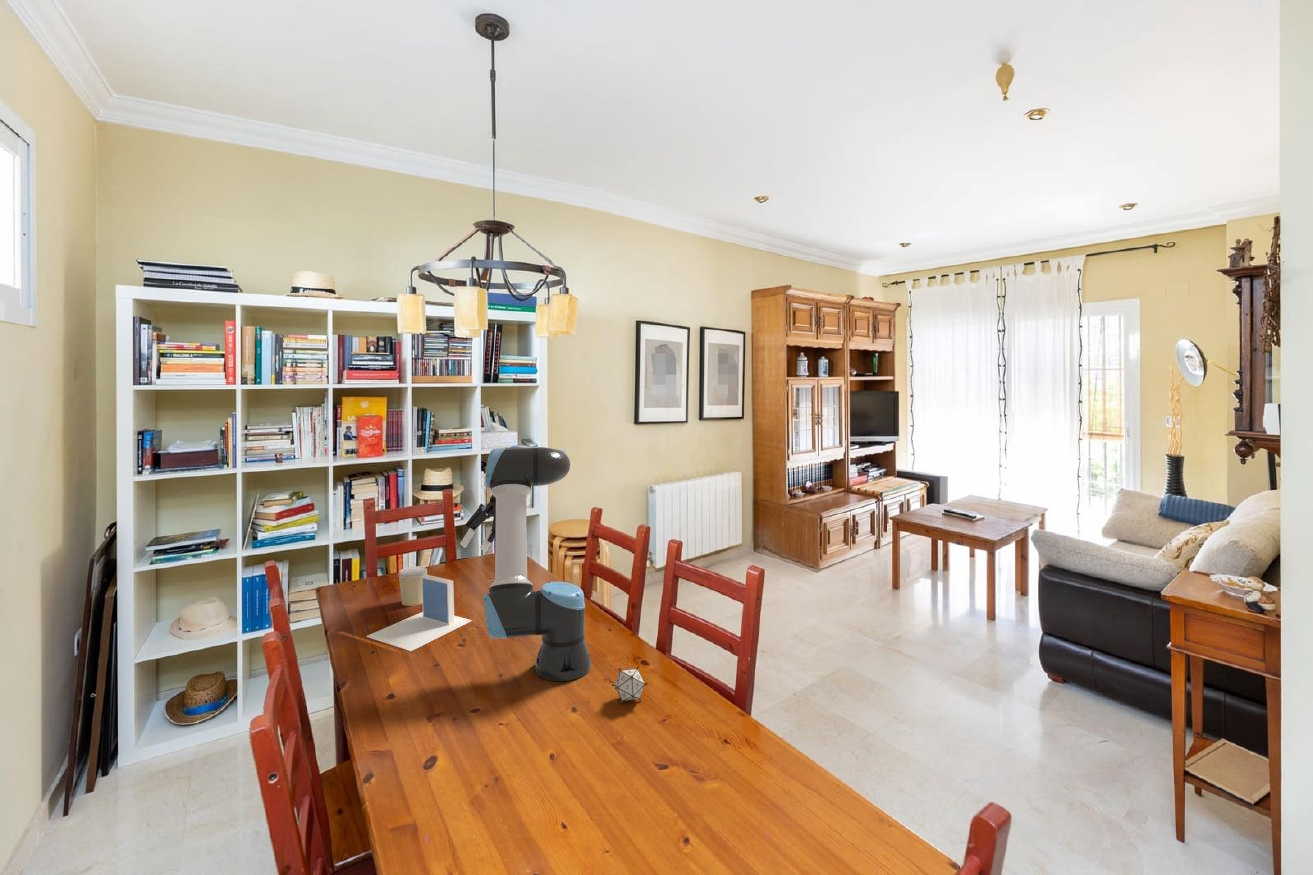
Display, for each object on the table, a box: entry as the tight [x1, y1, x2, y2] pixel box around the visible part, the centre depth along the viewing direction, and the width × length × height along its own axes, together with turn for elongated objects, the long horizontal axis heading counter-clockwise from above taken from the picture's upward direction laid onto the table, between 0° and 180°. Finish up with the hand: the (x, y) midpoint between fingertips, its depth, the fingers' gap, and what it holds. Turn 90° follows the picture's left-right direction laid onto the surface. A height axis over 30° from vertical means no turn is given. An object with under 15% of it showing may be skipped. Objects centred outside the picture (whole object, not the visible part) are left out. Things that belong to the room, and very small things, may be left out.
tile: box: [421, 574, 455, 625], centre depth 186 cm, size 12×2×14 cm, turn 63°
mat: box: [365, 611, 473, 652], centre depth 180 cm, size 20×24×1 cm
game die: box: [611, 665, 649, 704], centre depth 142 cm, size 9×8×10 cm
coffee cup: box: [398, 565, 428, 607], centre depth 201 cm, size 9×9×12 cm
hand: (472, 547), depth 199 cm, fingers open, 9 cm apart
